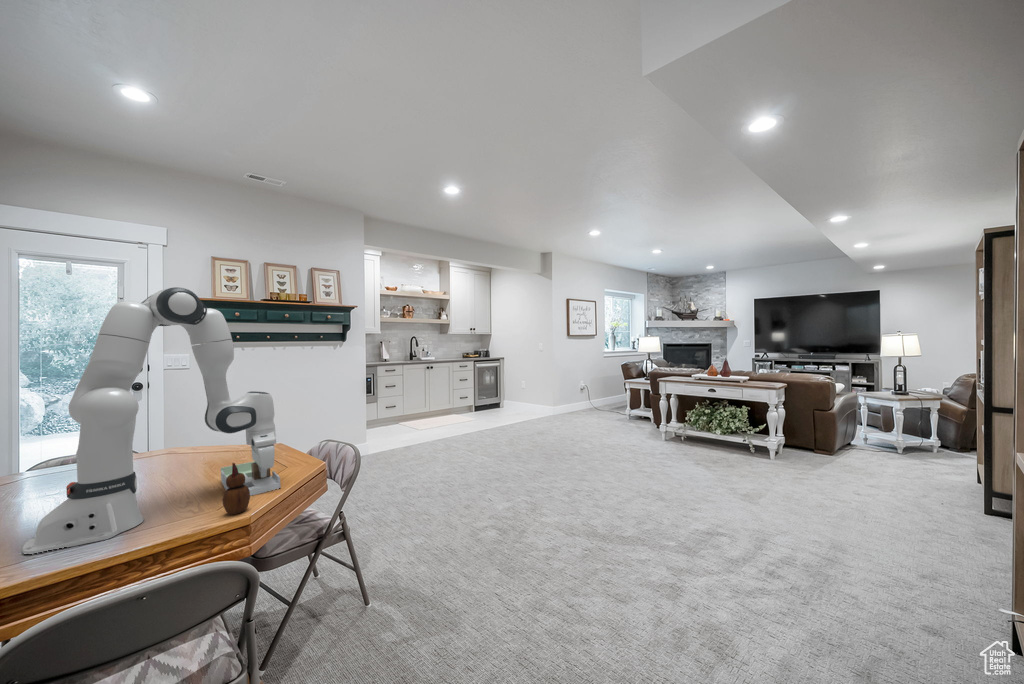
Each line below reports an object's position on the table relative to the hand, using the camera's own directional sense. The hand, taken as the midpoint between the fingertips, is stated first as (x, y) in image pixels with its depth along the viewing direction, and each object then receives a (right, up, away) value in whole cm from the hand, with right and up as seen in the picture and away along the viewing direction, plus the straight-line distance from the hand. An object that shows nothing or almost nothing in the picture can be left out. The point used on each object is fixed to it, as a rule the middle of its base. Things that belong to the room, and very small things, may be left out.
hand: (263, 476), depth 145 cm
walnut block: (-3, -1, +4) cm, 5 cm away
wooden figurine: (+7, -3, -23) cm, 25 cm away
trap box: (-6, -4, +2) cm, 7 cm away
